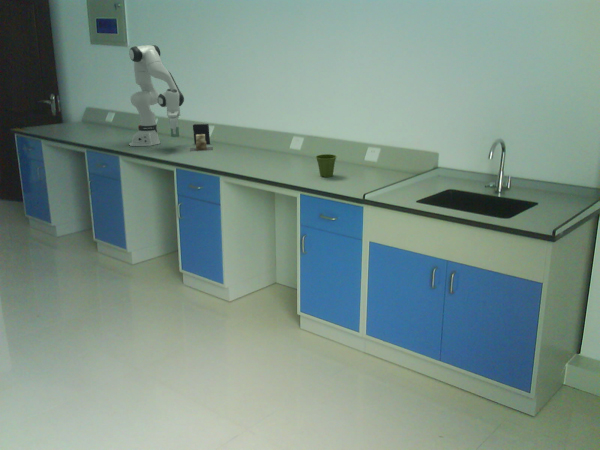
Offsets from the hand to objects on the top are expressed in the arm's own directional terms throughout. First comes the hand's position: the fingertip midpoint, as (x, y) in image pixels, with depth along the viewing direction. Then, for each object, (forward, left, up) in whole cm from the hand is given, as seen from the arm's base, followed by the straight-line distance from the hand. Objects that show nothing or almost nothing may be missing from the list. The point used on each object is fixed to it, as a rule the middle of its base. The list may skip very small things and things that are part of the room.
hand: (174, 133), depth 418 cm
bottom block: (+17, 0, -12) cm, 21 cm away
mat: (+17, 0, -13) cm, 21 cm away
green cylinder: (0, 0, -2) cm, 2 cm away
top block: (+17, 0, -7) cm, 19 cm away
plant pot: (+90, -96, -13) cm, 133 cm away
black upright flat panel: (+17, +20, -13) cm, 29 cm away
